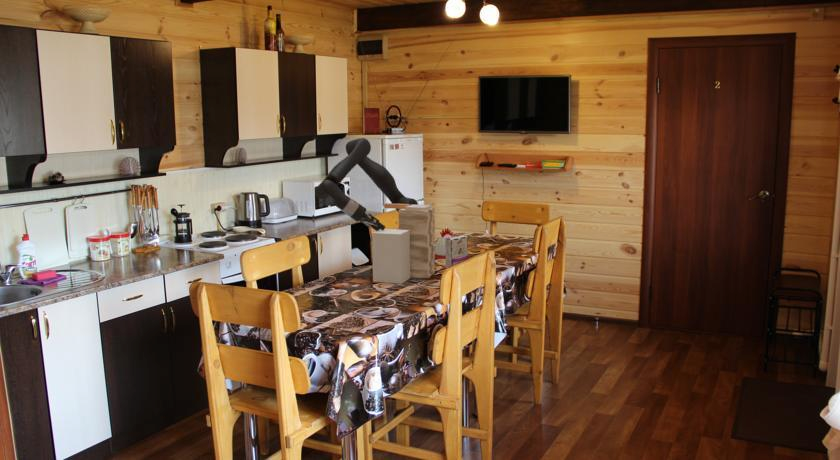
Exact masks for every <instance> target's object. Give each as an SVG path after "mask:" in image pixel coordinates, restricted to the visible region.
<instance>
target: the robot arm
mask: <svg viewBox="0 0 840 460" xmlns="http://www.w3.org/2000/svg"><path fill="white" fill-rule="evenodd" d="M371 148H372V145H371V143H370V141H369V140H368V139H367V138H365V137H360V138H356V139H352V140H350V141H348V142H347V143H346V144H345V151H346V153H347V156H345V158H343V159H341V160H340V161H339V162H338V163H337V164H335V165H334V166H333V168H332V169H331V170H330V171H329V172H328V174H327V176H326V177H324V179H323V180H322V181H321V182H320V183H319V184H318V185H317V186H316V189H315V195H316V197H317V198H318V199H320V200H326V199H328V198H329V197H330V198H331V199H332V200H333V201H332V204H333V205H334V206H335V207H337V209H339V210H340V211H342V212H343V213H344V214H345V215H347V216H349V218H351V219H353V220H354V221H355V222H357V223H358V222H359V221H360V223H362V224H364V225H365V226H366V227H368V228H371V229H373V230H375V231H378V230H380V229H381V230H384V229H386V225H384V224H383V223H381V222H380V219H378V218H377V217H375V216H374V215H372V214H371V213H366V212H367V208H366V207H364V206H363V205H362V204H360V203H359V202H358V201H356V200H355V199H353V198H351V197H349V196H348V195H347V194H346V193H344V192H343V191H342V190H341V189H340V187H339V185H340V184H341V183H342V181H344V180H345V178H346V177H347V175H348V174H349V173H350V172H351V171H352V170H353V169H354V168H355V166H357V165H358V166H359V167H360V168H361V170H362V171H363V172H364V173H365V174H366V175H367V176H368V177H369V178H370V179H371V182H373V183H374V185H376V187H378V189H379V190H380V191H381V192H382V194H384V196H385V197H386V198H387V199H388V200H389V201H390V203H392V204H410V205H419V202H418V201H417V200H416V199H415V198H412V197H411V198H410V197H406V196H405V195H404V194H403V193H402V192H401V191H400V190H399V188H398V187H397V183H396V180H395V178H394V176H393V174H391V172H390V171H389V170H388V169H387V168H386V167H385V166H384V165H381V163H378V162H376V161H374V160H372V159H371V158H370V157H369V156H368V155H369V154H370V152H371V151H372V149H371ZM395 210H396V212H397V214H399V210H400V209H395Z"/></svg>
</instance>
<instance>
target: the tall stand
mask: <svg viewBox="0 0 840 460" xmlns="http://www.w3.org/2000/svg"><path fill="white" fill-rule="evenodd" d="M398 229H399V230H410V278H418V279H429V278H430V277H431V276H433V275H434V274H436V273H435V272H436V271H435V270H436V264H435V263H436V261H435V260H436V257H435V246H436V242H435V208H434V207H432V208H431V209H428V210H426V211H418V210H405V209H400V210H399V213H398Z"/></svg>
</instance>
